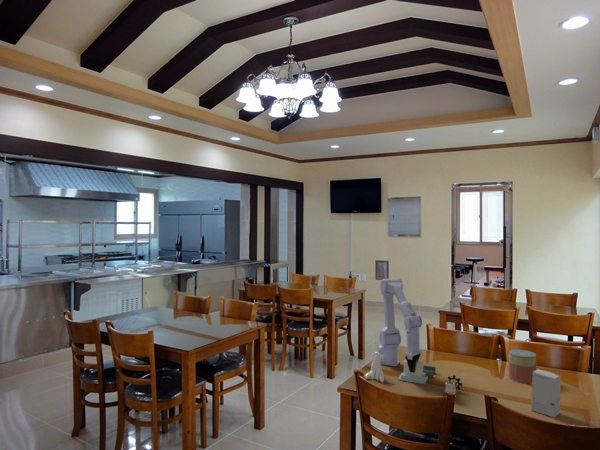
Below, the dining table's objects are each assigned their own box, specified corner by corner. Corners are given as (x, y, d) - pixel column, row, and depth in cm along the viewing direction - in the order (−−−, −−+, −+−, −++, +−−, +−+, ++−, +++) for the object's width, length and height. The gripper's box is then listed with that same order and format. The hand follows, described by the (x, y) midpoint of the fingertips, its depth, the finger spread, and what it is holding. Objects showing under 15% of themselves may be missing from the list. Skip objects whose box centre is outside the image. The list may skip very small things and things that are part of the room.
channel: (419, 375, 194) (419, 369, 194) (422, 371, 200) (422, 364, 200) (433, 378, 191) (433, 371, 191) (435, 373, 197) (435, 366, 197)
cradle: (398, 379, 189) (398, 374, 189) (402, 374, 196) (402, 369, 196) (425, 384, 183) (425, 378, 183) (428, 378, 191) (428, 373, 191)
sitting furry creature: (363, 379, 190) (363, 353, 190) (368, 373, 198) (368, 348, 198) (383, 382, 186) (383, 356, 186) (388, 376, 194) (387, 351, 194)
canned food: (535, 376, 192) (534, 351, 192) (537, 385, 182) (537, 358, 182) (508, 373, 197) (507, 348, 197) (509, 381, 186) (508, 355, 186)
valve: (458, 402, 165) (462, 391, 175) (458, 386, 165) (462, 376, 175) (441, 399, 168) (446, 388, 178) (441, 383, 168) (446, 373, 179)
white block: (403, 374, 190) (403, 361, 190) (405, 371, 193) (405, 359, 193) (421, 377, 186) (421, 364, 186) (423, 374, 190) (423, 361, 190)
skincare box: (531, 410, 157) (530, 371, 157) (537, 406, 161) (537, 368, 161) (555, 418, 150) (555, 377, 150) (561, 413, 154) (561, 374, 154)
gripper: (418, 346, 182) (419, 377, 181) (424, 338, 194) (424, 367, 194) (402, 344, 185) (403, 374, 185) (409, 336, 198) (409, 364, 198)
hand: (413, 370), depth 190 cm, fingers closed on white block, 4 cm apart
